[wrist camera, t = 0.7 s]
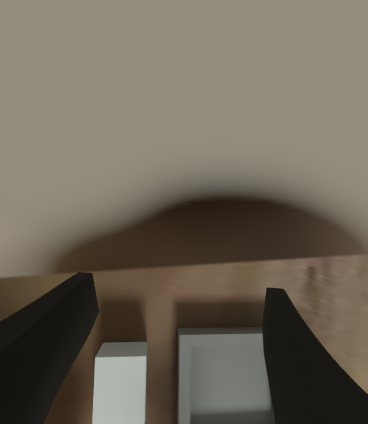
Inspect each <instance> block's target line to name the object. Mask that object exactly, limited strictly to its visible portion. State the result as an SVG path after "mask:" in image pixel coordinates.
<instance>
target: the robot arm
mask: <svg viewBox="0 0 368 424" xmlns="http://www.w3.org/2000/svg"><path fill="white" fill-rule="evenodd" d="M98 312H99V308H98V303H97V297H96V291H95V286H94V280H93V275H92V273H82V272H79V273H77V274H75V275H73V276H72V277H70V278H69V279H67V280H66V281H64V282H63V283H61V284H60V285H58V286H57V287H55V288H54V289H52V290H51V291H49V292H48V293H46V294H45V295H43V296H42V297H40V298H39V299H37V300H35V301H34V302H32V303H31V304H29V305H27V306H26V307H24V308H22V309H21V310H19V311H17V312H16V313H14V314H12V315H11V316H9V317H7V318H6V319H4V320H2V321H0V424H43V422H44V420H45V418H46V416H47V413H48V411H49V409H50V407H51V404H52V402H53V400H54V398H55V396H56V393H57V392H58V390H59V388H60V386H61V384H62V382H63V380H64V378H65V377H66V375H67V373H68V371H69V370H70V368H71V366H72V364H73V363H74V361H75V359H76V357H77V356H78V354H79V352H80V350H81V348H82V347H83V345H84V343H85V341H86V340H87V338H88V336H89V334H90V332H91V330H92V327H93V325H94V322H95V320H96V317H97V315H98ZM262 333H263V351H264V358H265V364H266V370H267V376H268V382H269V388H270V394H271V400H272V406H273V412H274V419H275V424H368V394H367V393H366V392H365V391H364V390H363V389H362V388H361V387H360V386H359V385H358V384H357V383H356V382H355V381H354V380H353V379H352V378H351V377H350V376H349V375H348V374H347V373H346V372H345V371H344V370H343V369H342V368H341V367H340V366H339V364H338V363H337V362H336V361H335V360H334V359H333V358H332V356H331V355H330V354H329V353H328V352H327V350H326V349H325V348H324V347H323V345H322V344H321V343H320V342H319V340H318V339H317V338H316V337H315V335H314V334H313V333H312V331H311V330H310V328H309V327H308V326H307V324H306V323H305V321H304V320H303V319H302V317H301V316H300V314H299V313H298V311H297V310H296V308H295V306H294V305H293V303H292V302H291V300H290V298H289V297H288V295H287V293H286V291H285V290H284V289H279V288H267V290H266V299H265V307H264V316H263V325H262Z"/></svg>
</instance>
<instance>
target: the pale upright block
mask: <svg viewBox="0 0 368 424" xmlns="http://www.w3.org/2000/svg"><path fill="white" fill-rule="evenodd" d="M146 374H147V342H112V343H103V344H102V346H101V348H100V350H99V352H98V353H97V355H96V357H95V375H94V398H93V421H92V424H145V411H146Z"/></svg>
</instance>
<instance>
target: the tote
mask: <svg viewBox="0 0 368 424" xmlns="http://www.w3.org/2000/svg"><path fill="white" fill-rule="evenodd" d="M176 424H275V419H274V412H273V406H272V400H271V394H270V388H269V382H268V376H267V370H266V364H265V358H264V351H263V333H262V327H211V328H177V413H176Z"/></svg>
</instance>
